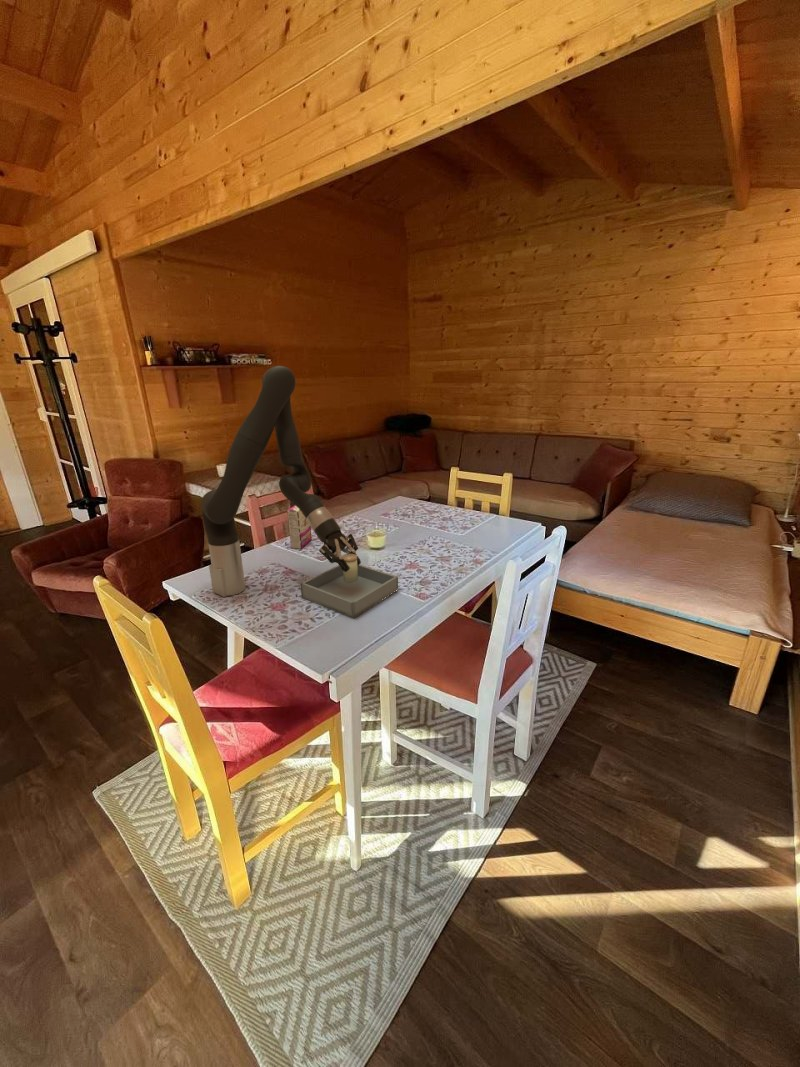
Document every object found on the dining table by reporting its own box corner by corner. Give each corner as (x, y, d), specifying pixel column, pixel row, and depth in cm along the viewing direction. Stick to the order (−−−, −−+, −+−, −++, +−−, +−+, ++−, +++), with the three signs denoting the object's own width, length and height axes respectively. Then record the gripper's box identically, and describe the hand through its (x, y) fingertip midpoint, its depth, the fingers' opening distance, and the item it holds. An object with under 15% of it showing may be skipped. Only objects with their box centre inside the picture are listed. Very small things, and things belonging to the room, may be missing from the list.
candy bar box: (301, 539, 192) (298, 502, 187) (312, 539, 191) (309, 502, 186) (290, 548, 182) (286, 510, 176) (301, 549, 181) (298, 510, 175)
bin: (353, 618, 131) (353, 603, 129) (301, 597, 143) (300, 583, 141) (397, 590, 148) (398, 576, 146) (348, 573, 160) (347, 560, 158)
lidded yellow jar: (351, 584, 141) (350, 560, 138) (340, 580, 144) (338, 557, 141) (361, 578, 144) (360, 555, 142) (350, 574, 147) (348, 552, 144)
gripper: (312, 524, 136) (343, 569, 134) (344, 512, 147) (373, 554, 145) (301, 536, 141) (332, 581, 139) (333, 524, 152) (361, 565, 149)
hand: (353, 567), depth 142 cm, fingers closed on lidded yellow jar, 4 cm apart
